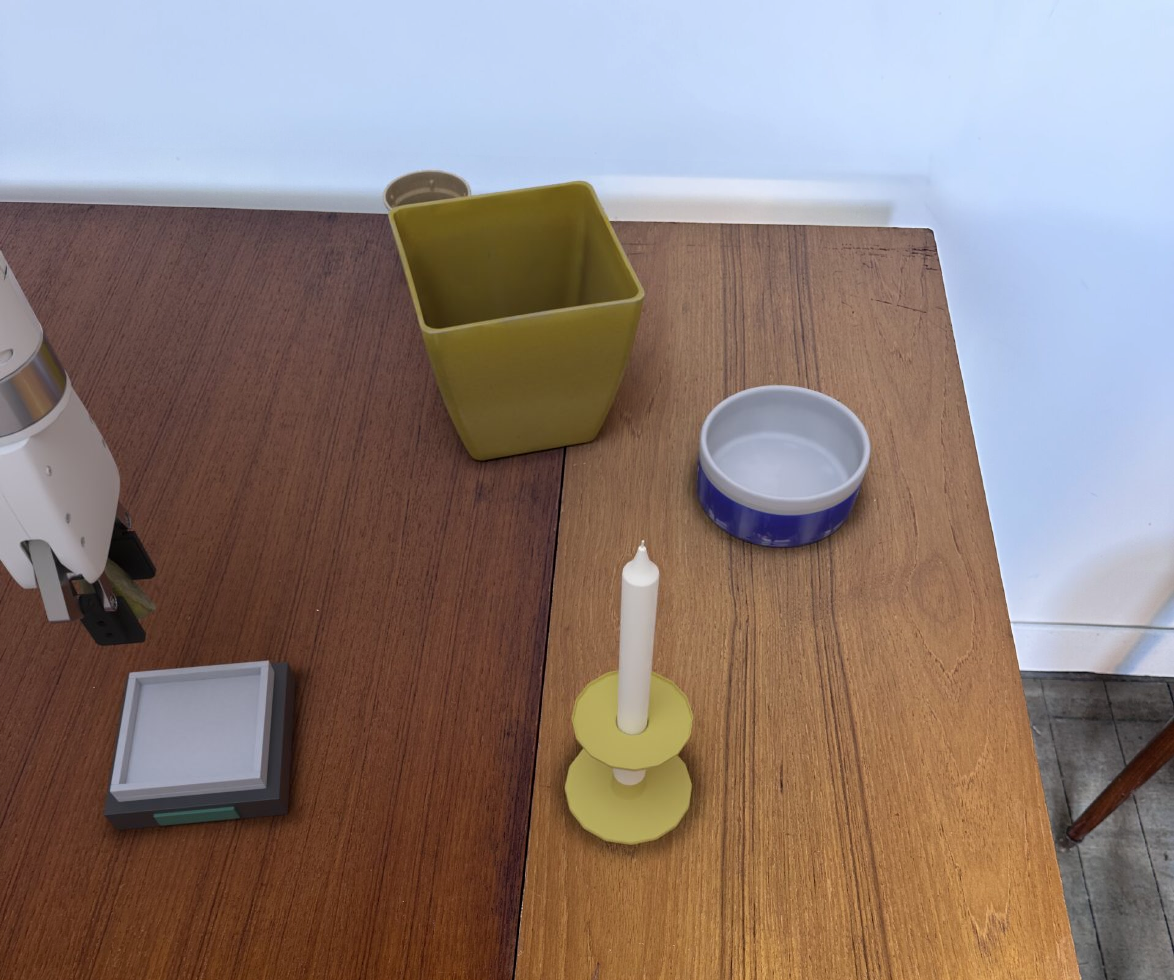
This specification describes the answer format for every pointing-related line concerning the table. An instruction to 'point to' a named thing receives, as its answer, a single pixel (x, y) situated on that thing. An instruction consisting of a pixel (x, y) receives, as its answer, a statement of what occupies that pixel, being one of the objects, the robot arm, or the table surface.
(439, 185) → the flower pot
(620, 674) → the candle
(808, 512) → the dog bowl
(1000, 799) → the table surface
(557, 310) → the flower pot
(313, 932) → the table surface
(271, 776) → the scale
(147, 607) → the lime
